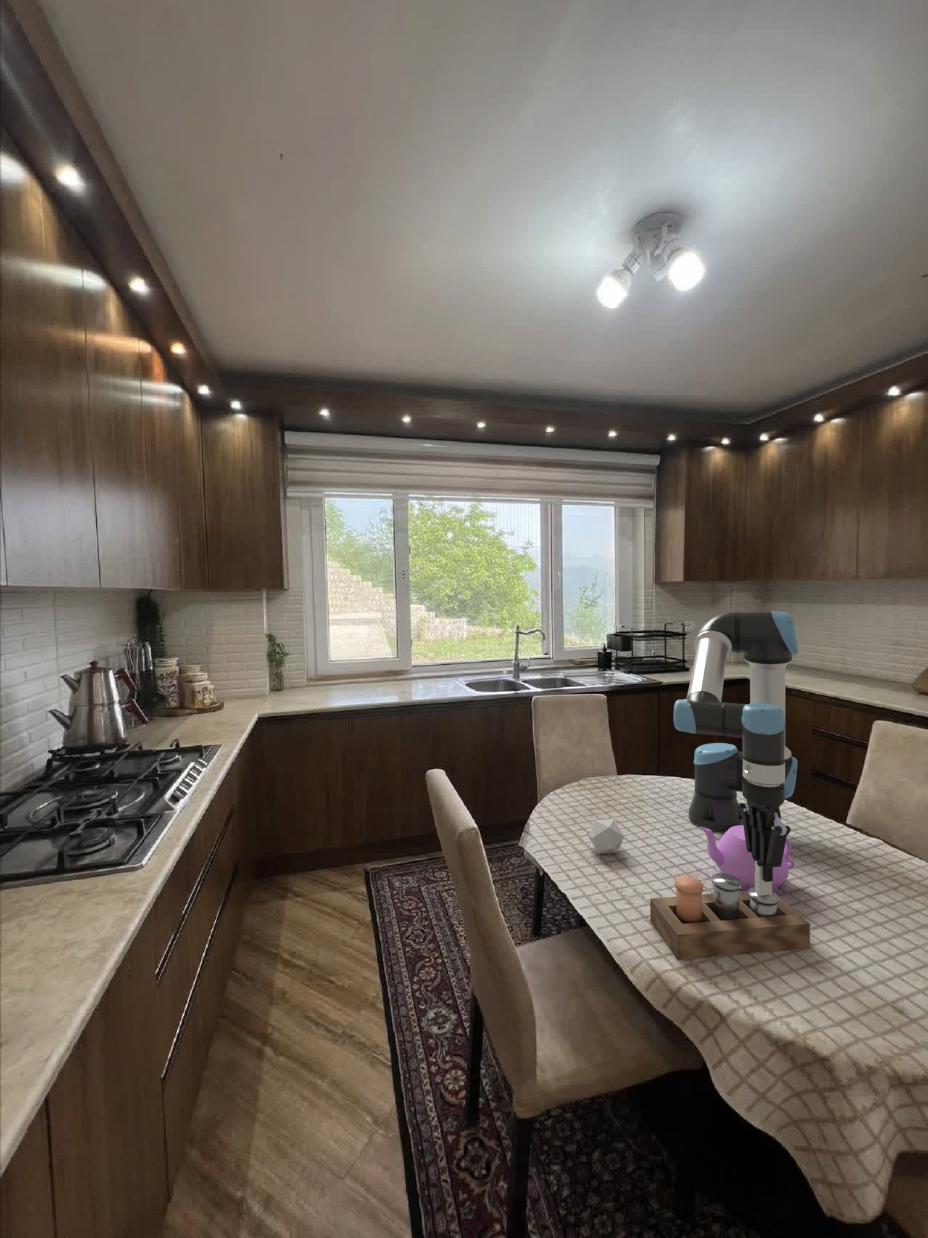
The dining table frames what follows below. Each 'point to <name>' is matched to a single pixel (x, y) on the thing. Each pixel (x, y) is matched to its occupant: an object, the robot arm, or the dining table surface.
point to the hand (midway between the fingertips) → (763, 893)
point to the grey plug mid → (726, 895)
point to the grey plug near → (763, 903)
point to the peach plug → (689, 898)
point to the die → (606, 836)
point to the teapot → (743, 858)
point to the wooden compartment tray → (728, 930)
